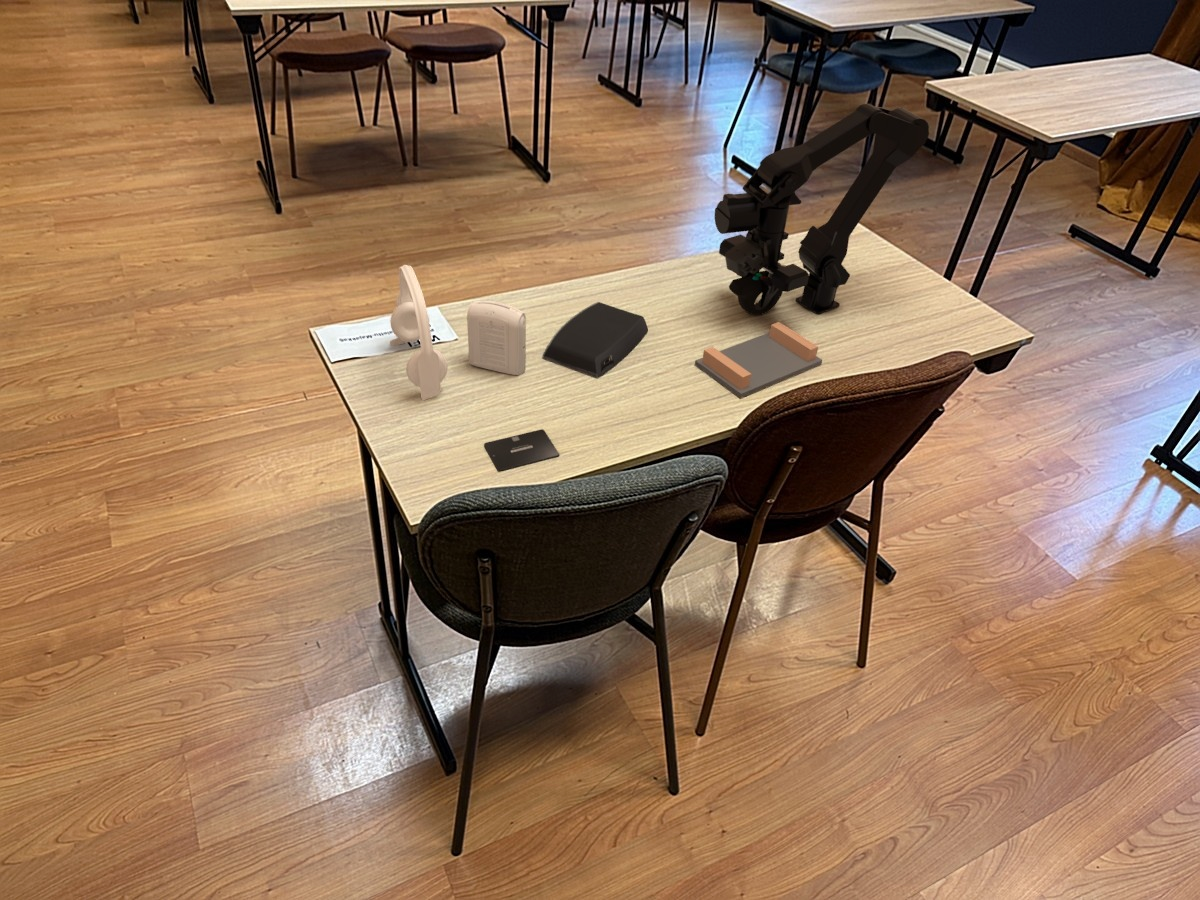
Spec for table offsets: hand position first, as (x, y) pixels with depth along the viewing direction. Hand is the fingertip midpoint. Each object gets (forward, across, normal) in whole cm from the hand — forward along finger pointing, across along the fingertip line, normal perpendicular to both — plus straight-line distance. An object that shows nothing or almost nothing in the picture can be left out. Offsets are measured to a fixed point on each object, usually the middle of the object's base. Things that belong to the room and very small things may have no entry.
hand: (755, 302), depth 164 cm
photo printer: (+3, -10, -52) cm, 53 cm away
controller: (+3, 0, 0) cm, 3 cm away
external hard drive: (+3, -7, -33) cm, 34 cm away
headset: (+3, -16, -64) cm, 66 cm away
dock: (+2, +14, -12) cm, 19 cm away
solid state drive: (+3, +12, -61) cm, 62 cm away
